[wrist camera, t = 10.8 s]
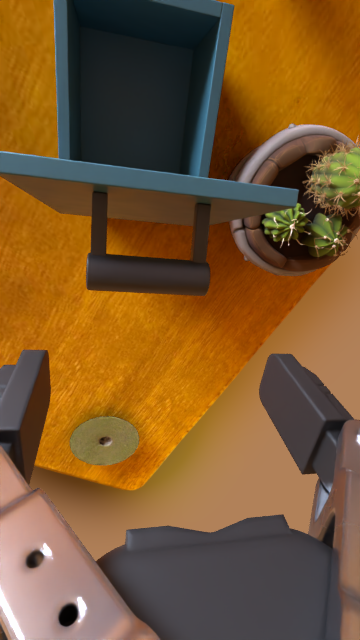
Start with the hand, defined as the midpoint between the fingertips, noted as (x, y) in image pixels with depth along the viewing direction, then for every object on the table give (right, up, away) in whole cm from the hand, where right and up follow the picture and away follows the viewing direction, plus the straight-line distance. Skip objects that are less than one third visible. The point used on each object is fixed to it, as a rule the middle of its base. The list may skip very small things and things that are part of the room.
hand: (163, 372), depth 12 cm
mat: (-12, -17, +45) cm, 50 cm away
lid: (-2, +10, +10) cm, 14 cm away
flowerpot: (+11, +18, +31) cm, 37 cm away
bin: (-4, +24, +24) cm, 34 cm away
